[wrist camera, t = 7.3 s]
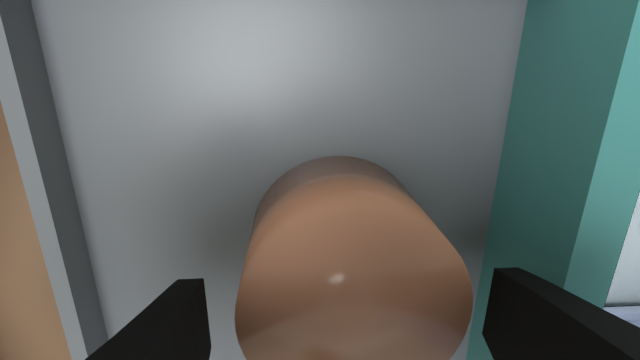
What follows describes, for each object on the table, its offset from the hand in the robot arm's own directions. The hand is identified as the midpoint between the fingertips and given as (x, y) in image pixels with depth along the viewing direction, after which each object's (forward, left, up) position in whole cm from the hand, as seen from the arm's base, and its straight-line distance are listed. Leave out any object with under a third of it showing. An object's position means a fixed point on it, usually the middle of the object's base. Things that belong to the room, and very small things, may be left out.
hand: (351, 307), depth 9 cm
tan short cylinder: (0, 0, -3) cm, 3 cm away
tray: (+2, 0, -5) cm, 5 cm away
